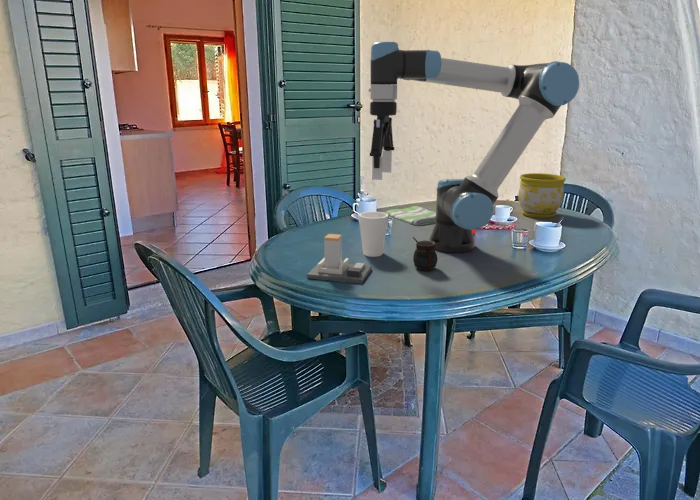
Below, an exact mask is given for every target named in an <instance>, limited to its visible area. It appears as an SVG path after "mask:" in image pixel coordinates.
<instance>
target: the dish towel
mask: <svg viewBox="0 0 700 500" xmlns="http://www.w3.org/2000/svg"><path fill="white" fill-rule="evenodd" d="M384 213H387V214H388V217H391V218H394V219H396V220H399V221H401V222H404V223H406V224H409V225H413V226H422V225H429V224H430V225H431V224H435V222H436V211H433V210H432V211H431V210H428V209H426V208H425V207H420V206H417V205H412V206H410V207H406V208H402V209H400V208H397V209H396V208H392V209H388V210H386V211H385V212H384Z"/></svg>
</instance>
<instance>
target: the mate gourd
mask: <svg viewBox="0 0 700 500" xmlns="http://www.w3.org/2000/svg"><path fill="white" fill-rule="evenodd" d="M412 238H413V240H414V241H415V242H416V243H415V245H416V246H415V247H416V249H415V250H414V253H413V258H412V261H413V264H414V266H415V268H416V269H417V270H419V271H424V272H425V271H426V272H429V271H432V270H433V269H435V267H436V266H437V263H438V259H439V257H438V254H437V252H436V250H435V243H434V242H432V241H429V240H419V241H418V240H417V239H416V238H415V237H412Z"/></svg>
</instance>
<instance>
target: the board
mask: <svg viewBox="0 0 700 500" xmlns="http://www.w3.org/2000/svg"><path fill="white" fill-rule="evenodd" d="M349 261H350V258H349V257H346V258H345V259H344V260H342V263H341V264H340V266H339V269H331V268H325V256H324V257H323V258H322V259H321V260H320V261H319V262H318V263H316V265H314V267H313V268H312V269H311V270H310V271H309V272H307V274H306V279H310V280H312V279H313V280H322V281H329V282H330V281H332V282H333V281H334V282H341V283H351V284H363V282H364V281H365V280H366V278H367V277H368V275H369V274H370V273H371V271H372V269H373V266H372V265H368V264H365V263H364V262H356V263H350V262H349Z"/></svg>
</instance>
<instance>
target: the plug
mask: <svg viewBox="0 0 700 500" xmlns="http://www.w3.org/2000/svg"><path fill="white" fill-rule="evenodd" d="M342 237H343V235H342V234H338V233H337V234H335V233H328V234H326V235H325V236H324V237H323V238H324V239H323V242H324V249H323V250H324V251H323V252H324V257H325V268H331V269H339V266H340V264H341V263H342V262H343V241H342V240H343V238H342Z"/></svg>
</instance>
